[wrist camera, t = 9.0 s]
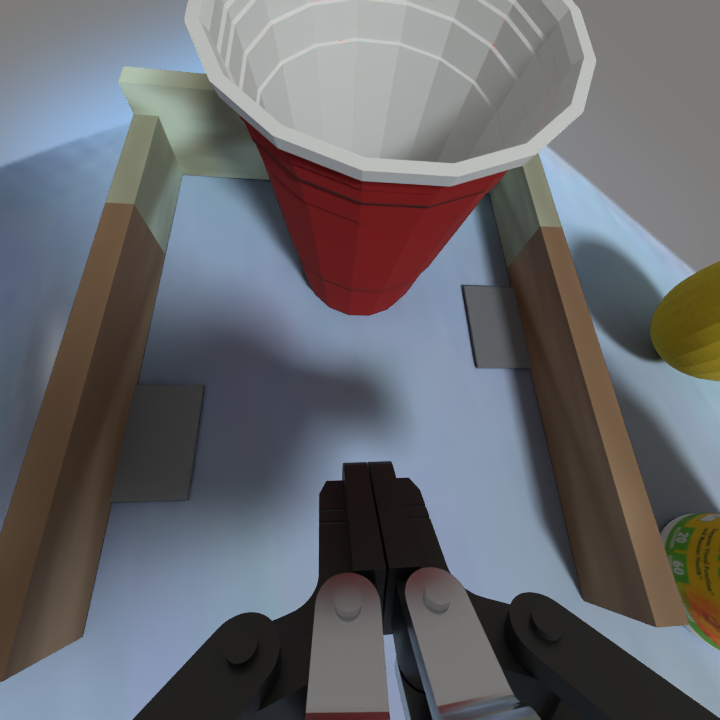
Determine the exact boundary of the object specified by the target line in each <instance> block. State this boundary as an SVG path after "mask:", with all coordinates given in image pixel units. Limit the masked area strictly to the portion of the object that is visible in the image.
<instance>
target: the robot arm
mask: <svg viewBox="0 0 720 720" xmlns="http://www.w3.org/2000/svg"><path fill="white" fill-rule="evenodd" d="M388 634H393V637H394V643H395V649H396V660H395V674H396V679H397V683H398V688H399V692H400V697H401V701H402V706H403V710H404V715H405V719H406V720H720V718H718V717H717V716H716V715H714V714H713V713H711V712H710V711H709V710H707V709H706V708H704V707H703V706H702V705H700V704H699V703H697V702H696V701H695V700H693V699H692V698H690V697H689V696H688V695H686V694H685V693H683V692H682V691H681V690H679V689H678V688H676V687H675V686H674V685H672V684H671V683H669V682H668V681H667V680H665V679H664V678H662V677H661V676H660V675H658V674H657V673H655V672H654V671H653V670H651V669H650V668H648V667H647V666H645V665H644V664H643V663H641V662H640V661H638V660H637V659H636V658H634V657H633V656H631V655H630V654H629V653H627V652H626V651H624V650H623V649H622V648H620V647H619V646H617V645H616V644H615V643H613V642H612V641H610V640H609V639H608V638H606V637H605V636H603V635H602V634H601V633H599V632H598V631H596V630H595V629H594V628H592V627H591V626H589V625H588V624H587V623H585V622H584V621H582V620H581V619H580V618H578V617H577V616H575V615H574V614H572V613H571V612H570V611H568V610H567V609H565V608H564V607H563V606H561V605H560V604H558V603H557V602H555V601H554V600H552V599H551V598H549V597H547V596H544V595H541V594H538V593H532V592H527V593H522V594H519V595H518V596H516V597H515V598H514V599H513V600H512V602H511V604H506V603H503V602H499V601H495V600H491V599H487V598H484V597H481V596H478V595H475V594H473V593H471V592H470V591H468V590H466V589H465V588H464V587H463V586H462V584H461V583H460V582H459V581H458V580H457V579H456V578H455V577H454V576H453V575H452V574H451V573H450V571H449V569H448V567H447V565H446V562H445V559H444V556H443V553H442V551H441V548H440V545H439V542H438V539H437V537H436V534H435V531H434V528H433V525H432V523H431V520H430V519H429V514H428V511H427V509H426V507H425V503H424V500H423V497H422V495H421V492H420V489H419V488H418V487H417V486H416V485H415V484H414V483H413V482H412V481H411V480H410V479H409V478H396V475H395V472H394V468H393V465H392V462H391V461H384V462H368V463H366V462H357V463H343V471H342V480H341V481H326V483H325V485H324V486H323V488H322V490H321V492H320V494H319V579H318V583H317V586H316V589H315V591H314V593H313V594H312V596H311V597H310V599H309V600H308V601H307V602H306V603H305V604H304V605H303V606H302V607H300V608H299V609H297V610H296V611H294V612H292V613H290V614H287V615H285V616H283V617H281V618H278V619H276V620H274V621H271V620H270V619H269V618H268V617H266V616H265V615H263V614H260V613H254V612H249V613H243V614H240V615H237V616H235V617H233V618H231V619H229V620H228V621H226V622H225V623H224V624H222V625H221V626H220V627H219V628H218V629H217V630H216V631H215V632H214V633H213V635H212V636H211V637H210V638H209V639H208V640H207V641H206V642H205V643H204V644H203V645H202V646H201V647H200V648H199V649H198V651H197V652H196V653H195V654H194V655H193V656H192V657H191V658H190V659H189V660H188V661H187V662H186V663H185V664H184V665H183V666H182V668H181V669H180V670H179V671H178V672H177V673H176V674H175V675H174V676H173V677H172V678H171V679H170V680H169V681H168V682H167V684H166V685H165V686H164V687H163V688H162V689H161V690H160V691H159V692H158V693H157V694H156V695H155V696H154V697H153V698H152V700H151V701H150V702H149V703H148V704H147V705H146V706H145V707H144V708H143V709H142V710H141V711H140V712H139V713H138V714H137V716H136V717H135V718H134V719H133V720H390V714H389V703H388V691H387V678H386V665H385V653H384V640H383V635H388Z"/></svg>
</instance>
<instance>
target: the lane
mask: <svg viewBox="0 0 720 720" xmlns="http://www.w3.org/2000/svg"><path fill="white" fill-rule="evenodd" d="M118 82H119V84H120V86H121V88H122V90H123V93H124V95H125V97H126V99H127V101H128V103H129V105H130V107H131V109H132V112H133V114H134V115H133V118H132V121H131V124H130V127H129V130H128V134H127V137H126V140H125V143H124V146H123V149H122V153H121V156H120V159H119V162H118V165H117V168H116V171H115V175H114V178H113V181H112V184H111V187H110V190H109V194H108V197H107V200H106V203H105V206H104V209H103V212H102V216H101V219H100V222H99V225H98V228H97V231H96V235H95V238H94V241H93V244H92V247H91V250H90V253H89V257H88V260H87V263H86V266H85V269H84V272H83V275H82V279H81V282H80V285H79V288H78V291H77V294H76V298H75V301H74V304H73V307H72V310H71V313H70V316H69V320H68V323H67V326H66V329H65V332H64V335H63V339H62V342H61V345H60V348H59V351H58V354H57V357H56V361H55V364H54V367H53V370H52V373H51V376H50V380H49V383H48V386H47V389H46V392H45V395H44V398H43V402H42V405H41V408H40V411H39V414H38V417H37V421H36V424H35V427H34V430H33V433H32V436H31V439H30V443H29V446H28V449H27V452H26V455H25V458H24V462H23V465H22V468H21V471H20V474H19V477H18V480H17V484H16V487H15V490H14V493H13V496H12V499H11V503H10V506H9V509H8V512H7V515H6V518H5V521H4V525H3V528H2V531H1V534H0V682H2V681H4V680H6V679H8V678H10V677H11V676H13V675H15V674H17V673H18V672H20V671H22V670H24V669H26V668H27V667H29V666H31V665H33V664H35V663H36V662H38V661H40V660H42V659H44V658H45V657H47V656H49V655H51V654H53V653H54V652H56V651H58V650H60V649H62V648H63V647H65V646H67V645H69V644H71V643H72V642H74V641H76V640H78V639H79V638H81V637H83V633H84V629H85V624H86V619H87V615H88V610H89V606H90V601H91V596H92V592H93V587H94V583H95V578H96V573H97V569H98V564H99V559H100V555H101V550H102V546H103V541H104V536H105V532H106V527H107V522H108V518H109V513H110V509H111V504H112V502H109V501H110V496H111V492H112V487H113V482H114V478H115V473H116V469H117V464H118V460H119V455H120V450H121V446H122V441H123V437H124V432H125V428H126V423H127V419H128V414H129V409H130V405H131V400H132V396H133V391H134V387H135V385H137V384H138V379H139V374H140V370H141V365H142V361H143V356H144V351H145V347H146V342H147V337H148V333H149V328H150V324H151V319H152V314H153V310H154V305H155V300H156V296H157V291H158V287H159V282H160V277H161V273H162V268H163V263H164V259H165V254H166V250H167V245H168V240H169V236H170V231H171V227H172V222H173V217H174V213H175V208H176V203H177V199H178V194H179V190H180V185H181V180H182V176H183V175H197V176H213V177H229V178H244V179H260V180H270V179H269V176H268V173H267V171H266V168H265V165H264V162H263V160H262V158H261V155H260V153H259V151H258V149H257V147H256V144H255V143H254V142H253V141H252V139H251V136H250V134H249V132H248V130H247V127H246V125H245V123H244V121H242V120H241V119H240V117H239V114H238V113H237V112H236V111H235V110H233V109H232V108H231V107H230V106H229V105H228V104H226V103H225V102H224V101H223V100H222V99H221V98H220V97H219V96H218V94H217V93H216V91H215V89H214V88H213V86H212V84H211V83H210V81H209V79H208V76H207V74H200V73H190V72H179V71H169V70H168V71H167V70H158V69H148V68H137V67H126V66H124V67H123V70H122V73H121V76H120V78H119V81H118ZM486 194H490V197H491V202H492V206H493V210H494V215H495V219H496V223H497V228H498V232H499V236H500V241H501V245H502V249H503V254H504V258H505V262H506V267H507V271H508V275H509V280H510V284H511V287H514V292H515V296H516V300H517V305H518V309H519V313H520V317H521V322H522V326H523V330H524V335H525V339H526V343H527V347H528V352H529V356H530V360H531V365H532V368H530V370H531V375H532V379H533V383H534V388H535V392H536V396H537V401H538V405H539V409H540V414H541V418H542V422H543V427H544V431H545V435H546V440H547V444H548V448H549V453H550V457H551V461H552V466H553V470H554V474H555V479H556V483H557V487H558V492H559V496H560V500H561V505H562V509H563V513H564V518H565V522H566V526H567V531H568V535H569V539H570V544H571V548H572V552H573V557H574V561H575V565H576V570H577V574H578V578H579V583H580V587H581V591H582V596H583V600H584V601H586V602H588V603H591V604H594V605H597V606H599V607H602V608H605V609H608V610H610V611H613V612H616V613H619V614H621V615H624V616H627V617H630V618H632V619H635V620H638V621H640V622H643V623H646V624H649V625H651V626H654V627H668V626H680V625H689V623H688V620H687V617H686V614H685V611H684V608H683V605H682V601H681V598H680V595H679V592H678V589H677V586H676V583H675V579H674V576H673V573H672V570H671V567H670V564H669V561H668V558H667V554H666V551H665V548H664V545H663V542H662V539H661V536H660V533H659V529H658V526H657V523H656V520H655V517H654V514H653V511H652V507H651V504H650V501H649V498H648V495H647V492H646V489H645V486H644V482H643V479H642V476H641V473H640V470H639V467H638V464H637V461H636V457H635V454H634V451H633V448H632V445H631V442H630V439H629V435H628V432H627V429H626V426H625V423H624V420H623V417H622V414H621V410H620V407H619V404H618V401H617V398H616V395H615V392H614V389H613V385H612V382H611V379H610V376H609V373H608V370H607V367H606V363H605V360H604V357H603V354H602V351H601V348H600V345H599V342H598V338H597V335H596V332H595V329H594V326H593V323H592V320H591V317H590V313H589V310H588V307H587V304H586V301H585V298H584V295H583V291H582V288H581V285H580V282H579V279H578V276H577V273H576V270H575V266H574V263H573V260H572V257H571V254H570V251H569V248H568V245H567V241H566V238H565V235H564V232H563V229H562V226H561V223H560V219H559V216H558V213H557V210H556V207H555V204H554V201H553V198H552V194H551V191H550V188H549V185H548V182H547V179H546V176H545V173H544V169H543V166H542V163H541V160H540V157H539V154H538V153H537V154H536V155H535V156H534V157H533V158H531V159H530V160H529V161H528V162H527V163H526V164H525V165H523V166H520V167H516V168H513V169H510V170H509V171H508V172H507V173H506V174H505V175H504V176H503V177H502V179H501V180H500V181H499V182H498V183H497V185H495V186H494V187H493V188H492V189H491V190H490V191H488V192H487V193H486Z"/></svg>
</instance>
